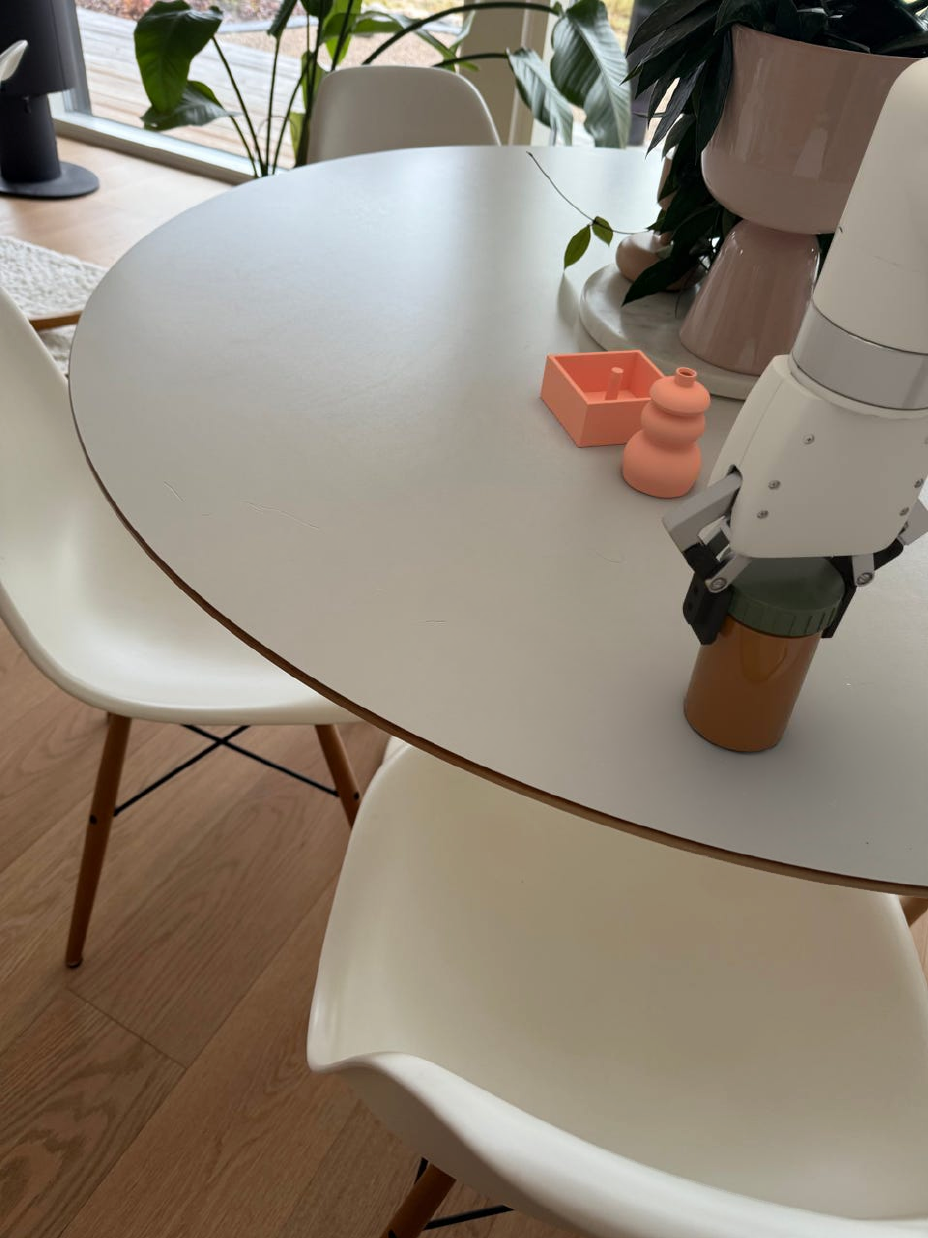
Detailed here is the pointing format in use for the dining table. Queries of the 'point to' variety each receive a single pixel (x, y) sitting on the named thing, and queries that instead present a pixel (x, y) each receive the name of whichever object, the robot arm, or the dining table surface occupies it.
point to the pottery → (631, 414)
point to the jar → (747, 685)
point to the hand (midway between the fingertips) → (757, 624)
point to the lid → (787, 595)
